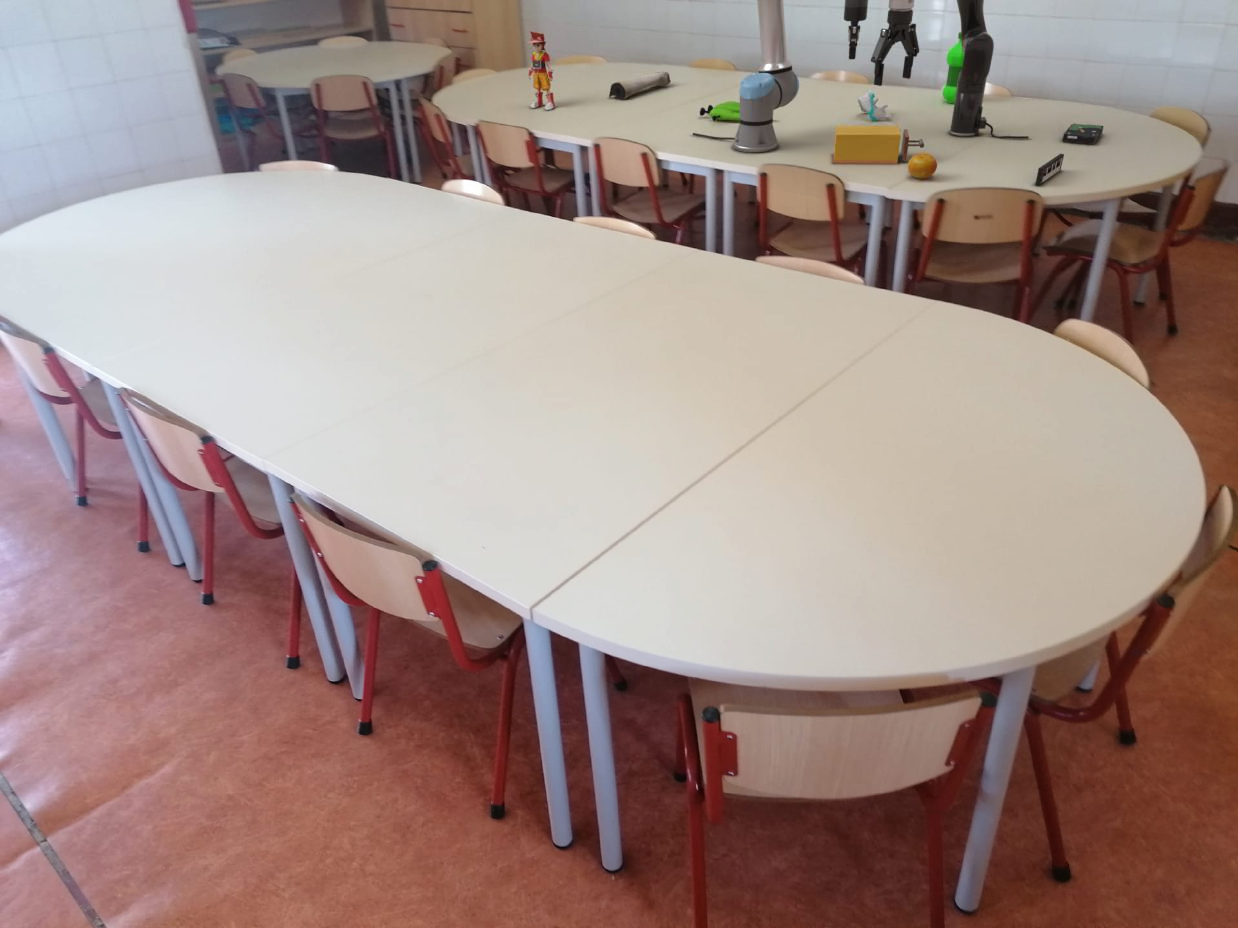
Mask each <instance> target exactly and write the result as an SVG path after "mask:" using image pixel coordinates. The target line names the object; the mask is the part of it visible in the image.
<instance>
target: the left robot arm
mask: <svg viewBox="0 0 1238 928" xmlns="http://www.w3.org/2000/svg"><path fill="white" fill-rule="evenodd" d="M756 2H757V13H758V24H759V25H758V27H759V39H760V50H761V65H760V67H759V68H758V72H757V73H753V74H748V75H747V76H745V77H743V78H742V79H741V81H740V84H739V85H740V86H739V103H740V113H739V120H738V127H737V130H736V134H735V136H734V137H721V136H714V135H707V134H702V133H697V132H696V133H695V132H692V136H696V137H702V138H708V139H714V140H726V141H727V140H728V141H729V140H731V141H733V149H734V150H736V151H739V152H741V153H751V154H752V153H754V154H755V153H765V152H770V151H773V150H775V149H776V148H777V147H778V139H777V135H776V132H775V129H774V128H775V127H774V124H773V123H774V121H773V120H774V111H775V110H777V109H780V108H783V107H785V106H788V104H790V103H791V102H793V101H794V99H795V98H796V97H797V95H798V92H799V89H800V80H799V78H798V75H797V74H796V72H795V71H793V64H792V63H791V62H790V61H789V59H788V52H787V51H788V50H787V37H786V23H785V8H784V0H756ZM914 5H915V0H889V1H888V9H889V10H888V11H887V19H886V22H887V24H888V28H881V29H880V33H879V37H878V40H877V43H876V44H875V47H874V51H873V52H872V55H871V58H870V62H871V63H873V64H874V70H873V74H874V78H873V85H874V86H878V87H881V86H883V78H884V70H885V63H884V61H885V59H886V58H887V56H888V54H889V53H890V50H891V49H892V47H893V46H894V45H896V43H899V42H901V45H902V47H903V50H904V51H905V53H906V55H905V56H904V62H903V70H902V78H903V79H907V80H910V79H911V76H912V68H913V65H914V60H915V58H916V57H918V54H919V53H920V45H919V41H918V35H917V23H912V22H913V16H914V15H913V14H914V10H913V8H914ZM914 57H915V58H914Z"/></svg>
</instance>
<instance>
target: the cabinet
mask: <svg viewBox="0 0 1238 928" xmlns="http://www.w3.org/2000/svg"><path fill="white" fill-rule="evenodd" d="M834 133H835V134H834V144H833V145H834V146H833V164H864V165H865V164H867V165H868V164H870V165H871V164H876V165H877V164H882V165H883V164H884V165H885V164H886V165H887V164H889V165H890V164H891V165H892V164H895V165H897V164H898V159H899V155H900V154H899V153H900V147H901V138H902V133H901V129H900V126H899V125H836V126H835V132H834ZM900 137H901V138H900Z"/></svg>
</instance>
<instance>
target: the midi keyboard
mask: <svg viewBox="0 0 1238 928" xmlns="http://www.w3.org/2000/svg"><path fill="white" fill-rule="evenodd" d="M1064 157H1065V153H1059V154H1058V155H1056V156H1055V157H1052V159H1051V160H1049V161H1047V162H1045V164H1042V165H1041V166H1039V167H1038V169H1037V175H1036V179H1035V186H1040V185H1042V183H1044V182H1045V181H1047V180H1048V179H1049V178H1051V177H1052V176H1054V175H1055V174H1056V173H1058V172H1060V171H1061V170H1062V165H1063V161H1064Z"/></svg>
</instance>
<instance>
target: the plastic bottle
mask: <svg viewBox="0 0 1238 928" xmlns="http://www.w3.org/2000/svg"><path fill="white" fill-rule="evenodd" d="M957 39H958V42H957V43H956V44H954V45H953V46H952V47H951V48H950V49H949V50H948V52H947V54H946V63H947V64H948V69H947V70H948V71H947V76H946V77H947V78H946V84H945V85H944V87H943V90H942V97H943V99H944V100H945V101H946V102H947V103H948V104H954V103H955V96H956V90H957V83H958V77H959V73H960V72H961V69H962V65H963V59H964V54H963V52H962V47H961V31H959V32H958V36H957Z"/></svg>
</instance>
